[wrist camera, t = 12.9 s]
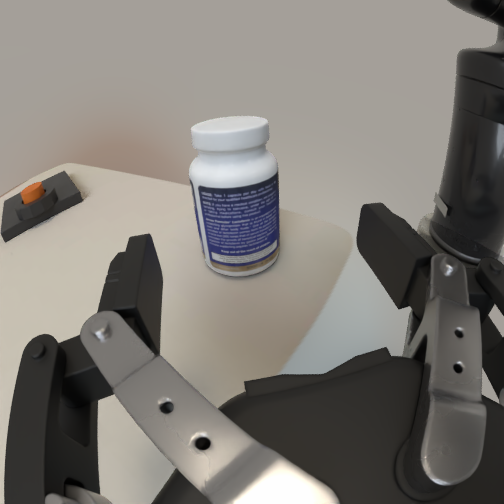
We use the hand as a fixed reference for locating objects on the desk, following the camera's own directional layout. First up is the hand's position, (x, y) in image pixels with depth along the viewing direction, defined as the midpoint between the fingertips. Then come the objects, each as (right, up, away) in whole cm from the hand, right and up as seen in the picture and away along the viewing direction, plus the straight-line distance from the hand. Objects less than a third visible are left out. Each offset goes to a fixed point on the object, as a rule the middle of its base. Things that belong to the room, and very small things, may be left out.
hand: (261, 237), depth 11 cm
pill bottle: (-1, -1, +12) cm, 12 cm away
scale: (-31, +6, +24) cm, 39 cm away
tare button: (-28, +6, +19) cm, 34 cm away
